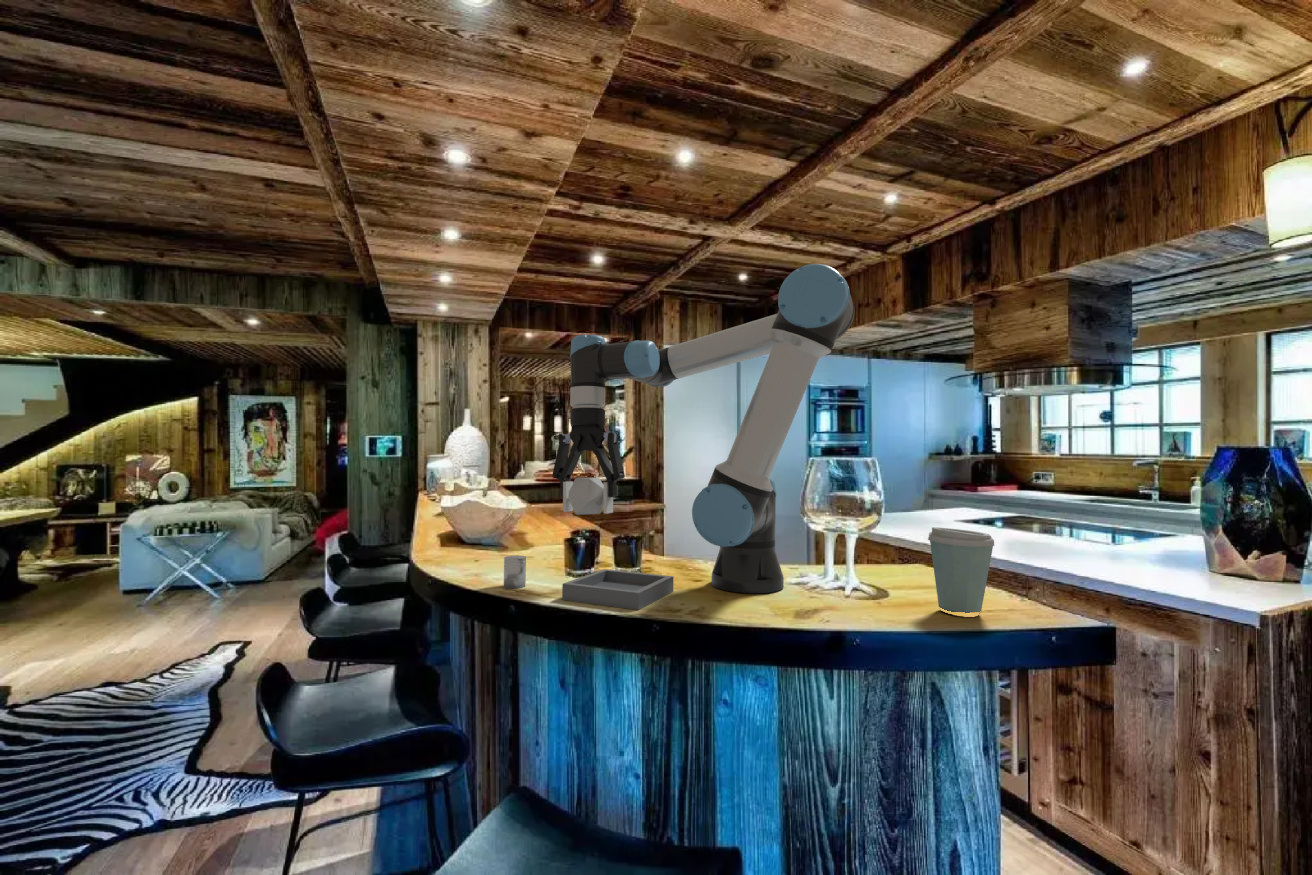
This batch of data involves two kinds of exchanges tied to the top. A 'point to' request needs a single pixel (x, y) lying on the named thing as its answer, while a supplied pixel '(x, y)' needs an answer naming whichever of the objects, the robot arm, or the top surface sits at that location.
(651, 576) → the slate tray
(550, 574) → the top surface
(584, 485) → the die
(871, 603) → the top surface
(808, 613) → the top surface
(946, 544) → the disposable coffee cup
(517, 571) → the steel jigger
